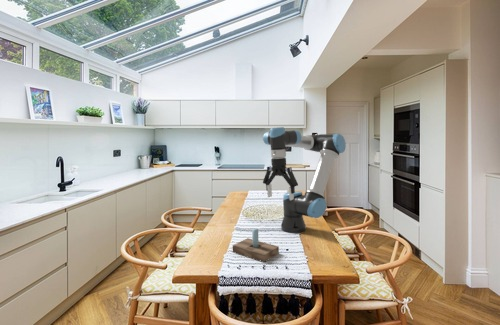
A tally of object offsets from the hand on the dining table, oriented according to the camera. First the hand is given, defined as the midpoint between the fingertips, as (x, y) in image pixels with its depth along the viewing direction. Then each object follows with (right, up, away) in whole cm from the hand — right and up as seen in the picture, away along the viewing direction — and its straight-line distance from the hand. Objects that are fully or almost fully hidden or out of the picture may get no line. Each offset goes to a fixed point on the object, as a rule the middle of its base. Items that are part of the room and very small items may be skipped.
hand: (280, 198), depth 144 cm
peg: (-13, -27, -5) cm, 30 cm away
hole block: (-13, -27, -5) cm, 30 cm away
